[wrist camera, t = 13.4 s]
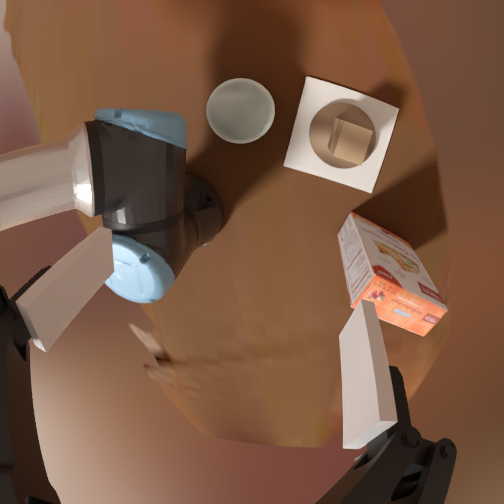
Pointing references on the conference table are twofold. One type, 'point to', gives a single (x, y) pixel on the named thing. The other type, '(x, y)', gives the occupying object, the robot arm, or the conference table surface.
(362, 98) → the mat
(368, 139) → the lid
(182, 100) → the conference table surface
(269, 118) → the bowl
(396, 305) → the cracker box
